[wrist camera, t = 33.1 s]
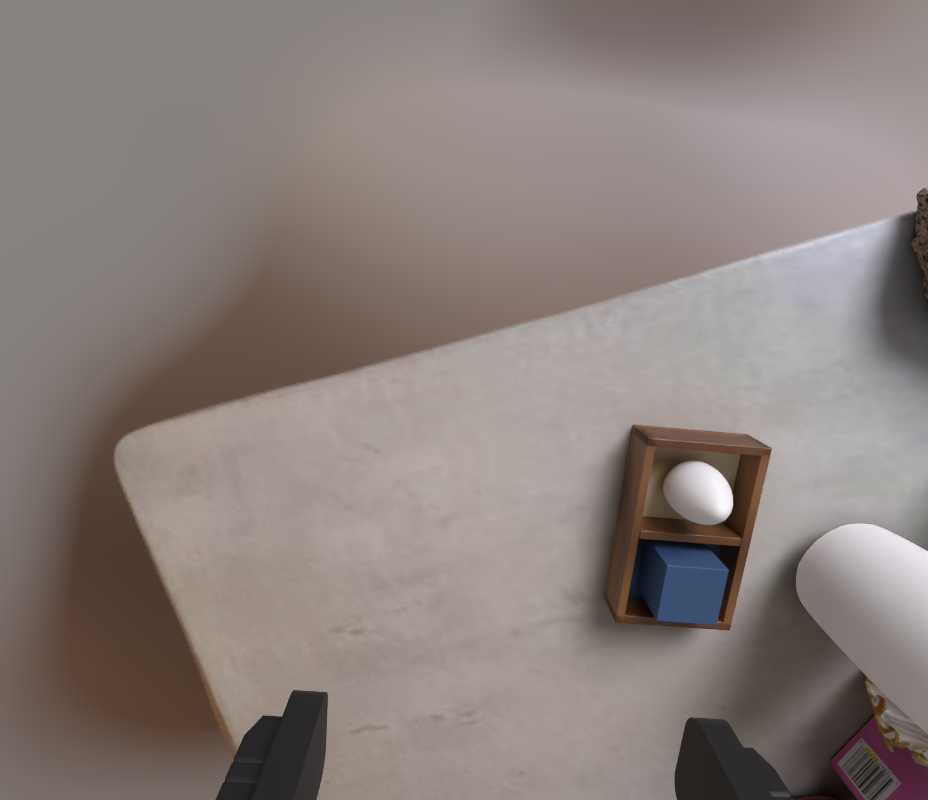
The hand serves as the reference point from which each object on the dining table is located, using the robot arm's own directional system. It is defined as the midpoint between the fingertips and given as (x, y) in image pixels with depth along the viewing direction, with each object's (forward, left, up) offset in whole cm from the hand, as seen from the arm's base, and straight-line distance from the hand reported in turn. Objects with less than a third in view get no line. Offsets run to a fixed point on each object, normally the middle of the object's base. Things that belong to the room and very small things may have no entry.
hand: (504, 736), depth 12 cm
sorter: (+6, +15, -26) cm, 31 cm away
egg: (+3, +15, -26) cm, 30 cm away
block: (+9, +15, -25) cm, 31 cm away
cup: (+9, +28, -26) cm, 39 cm away
